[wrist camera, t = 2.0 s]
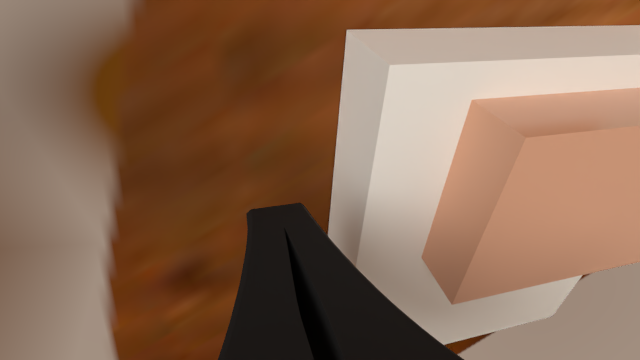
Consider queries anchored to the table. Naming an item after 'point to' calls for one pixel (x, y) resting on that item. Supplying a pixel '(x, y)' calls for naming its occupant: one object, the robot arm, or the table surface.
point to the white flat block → (446, 148)
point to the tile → (538, 193)
